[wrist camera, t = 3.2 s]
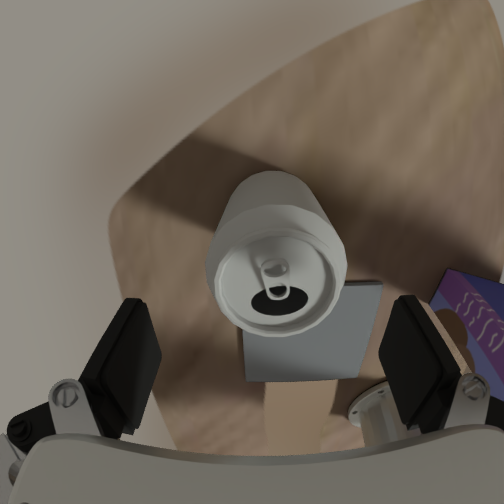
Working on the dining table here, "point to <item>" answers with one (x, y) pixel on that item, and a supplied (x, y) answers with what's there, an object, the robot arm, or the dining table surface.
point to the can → (275, 257)
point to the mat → (318, 342)
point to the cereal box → (474, 323)
